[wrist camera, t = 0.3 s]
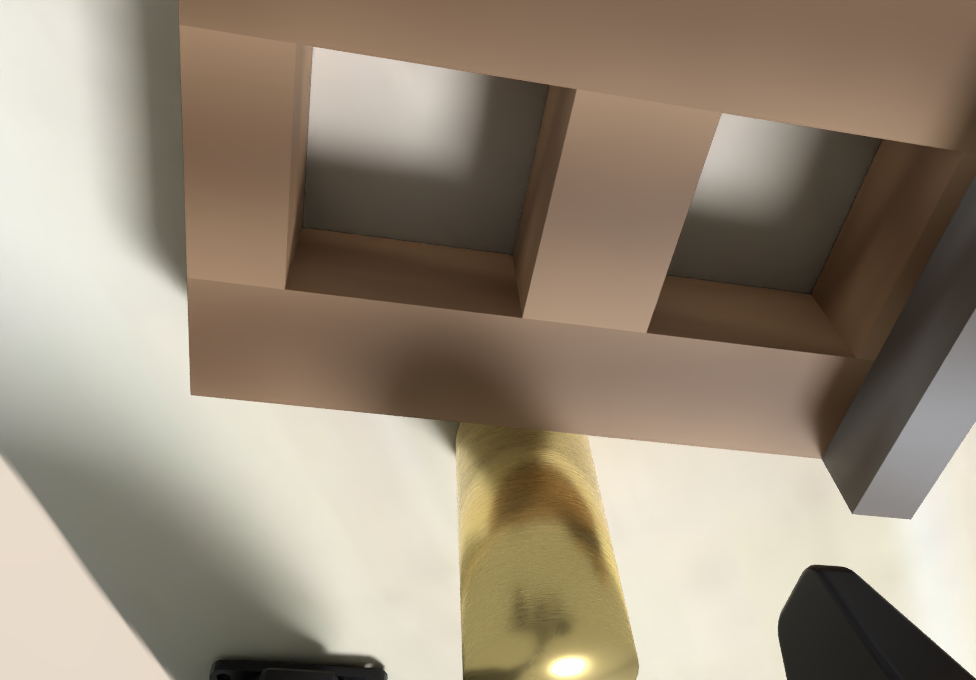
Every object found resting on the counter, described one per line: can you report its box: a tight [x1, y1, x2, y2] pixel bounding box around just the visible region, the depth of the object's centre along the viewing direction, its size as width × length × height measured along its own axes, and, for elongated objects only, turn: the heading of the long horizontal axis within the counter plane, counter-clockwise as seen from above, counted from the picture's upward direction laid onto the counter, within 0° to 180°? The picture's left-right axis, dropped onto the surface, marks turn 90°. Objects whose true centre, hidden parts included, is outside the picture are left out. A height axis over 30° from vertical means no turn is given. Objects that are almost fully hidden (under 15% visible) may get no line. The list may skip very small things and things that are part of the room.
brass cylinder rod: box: [456, 422, 639, 680], centre depth 22 cm, size 4×4×8 cm
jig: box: [178, 0, 976, 519], centre depth 18 cm, size 12×18×5 cm, turn 80°
